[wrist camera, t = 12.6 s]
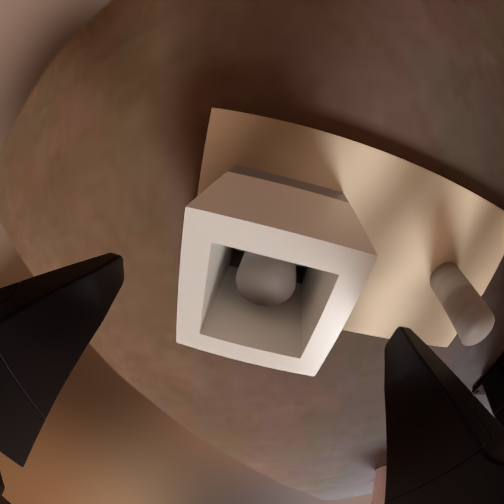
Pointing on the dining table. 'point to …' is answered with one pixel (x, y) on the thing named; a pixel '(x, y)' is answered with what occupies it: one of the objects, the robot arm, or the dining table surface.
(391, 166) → the pin board
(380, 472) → the smoothie
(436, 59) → the dining table surface
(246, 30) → the dining table surface
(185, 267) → the sleeve
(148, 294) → the dining table surface
